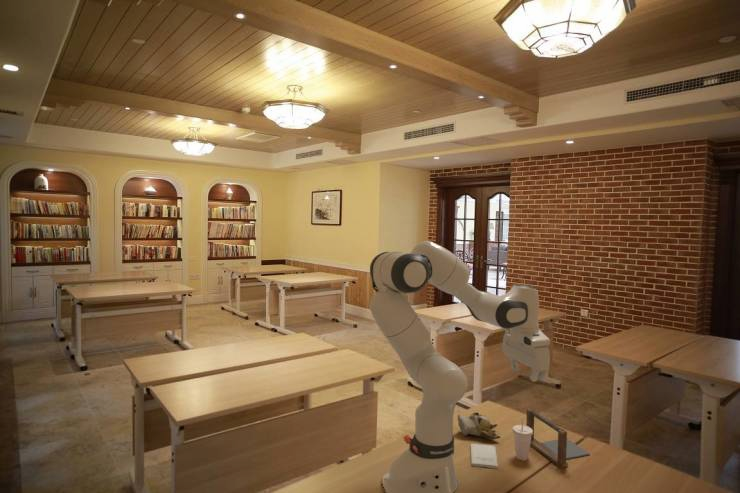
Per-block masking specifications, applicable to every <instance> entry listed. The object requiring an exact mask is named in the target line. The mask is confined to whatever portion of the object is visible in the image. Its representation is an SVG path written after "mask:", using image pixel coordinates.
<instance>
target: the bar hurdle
mask: <svg viewBox="0 0 740 493" xmlns="http://www.w3.org/2000/svg"><path fill="white" fill-rule="evenodd" d="M535 418H536V419H537V420H539V421H540V422H542V423H544V424H545V425H547V426H548V427H550V428H551V429H552V430H554V431H556V432H557V433H558V434H557V440H558V455H556V454H555V453H554V452H552V451H551V450H549V449H548V448H547V447H545V446H544V445H543V444H541V442H540V441H539V440H537V439H536V438H535ZM525 424H526V425H525V426H528V427H530V428H531V429H532V430H533V435H532V436H531V443H530V447H531V448H533V449H534V450H536V451H537V452H538V453H539V454H541V455H542V456H543V457H544V458H546V459H547V460H548V461H550V462H552V464H554V465H555V466H557V467H558V468H559V469H562V468H567V467H569V462H567V460H566V449H567V439H568V431H567V430H565V429H564V428H561V427H559V426H558V425H556V424H554V423H553V422H552V421H551V420H548V419H546V418H545V417H544V416H542V415H541V414H539V413H537V412H536V411H535V410H534V409H532V408H527V409H526V422H525Z"/></svg>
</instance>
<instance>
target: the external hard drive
mask: <svg viewBox="0 0 740 493" xmlns="http://www.w3.org/2000/svg"><path fill="white" fill-rule="evenodd" d="M470 459H471V463H470V464H471V465H470V466H471V467H479V468H487V469H494V470H495V469H499V465H498V456H497V450H496V446H495V445H491V444H490V445H488V444H479V443H470Z"/></svg>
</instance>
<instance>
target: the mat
mask: <svg viewBox="0 0 740 493" xmlns="http://www.w3.org/2000/svg"><path fill="white" fill-rule="evenodd" d="M540 443H541V444H543V445H544V446H545V447H547V448H548V449H549V450H551V451H552V452H554V453H555V454H556V455H558V439H553V440H548V441H541V442H540ZM590 455H591V453H590V452H588V451H587V450H585V449H584V448H582V447H581V446H579V445H577V444H576V443H574V442H573V441H572V440H570V439H569V438H567V449H566V461H567V460H571V459H577V458H581V457H585V456H586V457H587V456H590Z"/></svg>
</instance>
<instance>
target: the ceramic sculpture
mask: <svg viewBox="0 0 740 493" xmlns="http://www.w3.org/2000/svg"><path fill="white" fill-rule="evenodd" d="M457 422H458V427H459V429H460V433H461V434H462V435H463V436H465V437H466V436H468V435H472V436H473V435H474V436H476V437H481V438H484V439H487V440H498V439H501V436H499V435H498V434H496V433H495V432H494V431H492V430H493V429H495V428H496V427H497V426H498V424H496V423H493V424H492V423H491V421H490V420H489V418H488V417H487V416H486V415H482V414H479V412H473V413H471V414H470V416H465V415H463V414H457Z"/></svg>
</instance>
